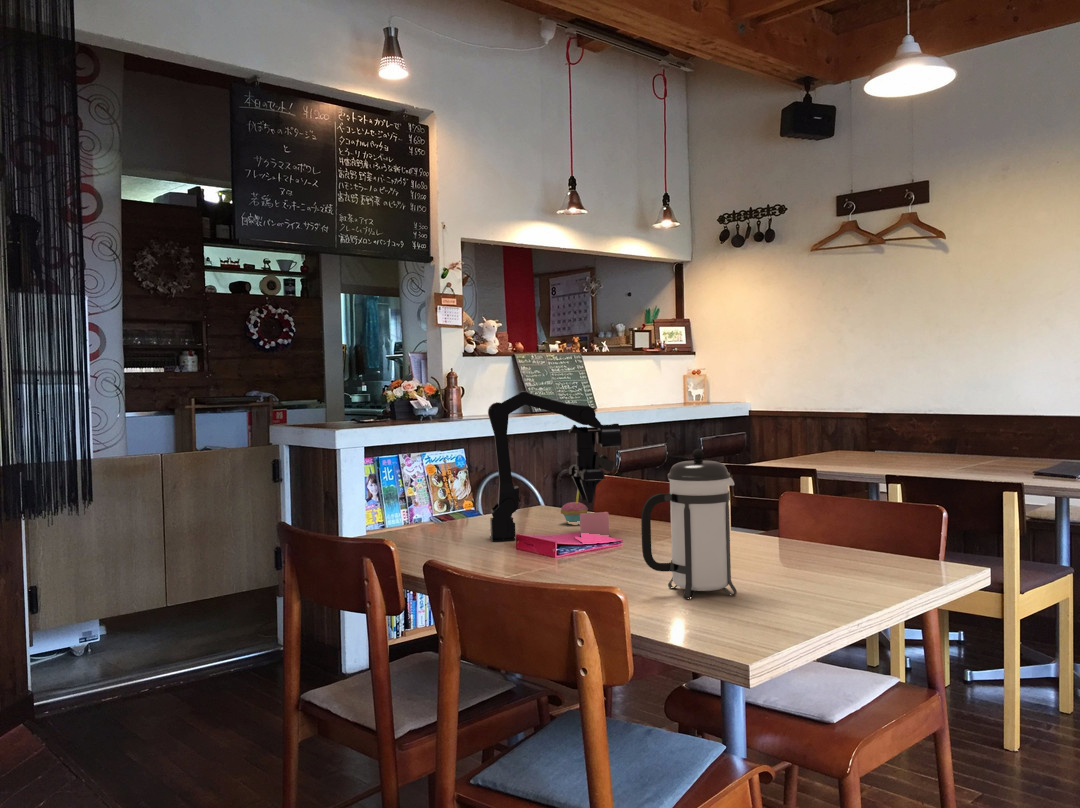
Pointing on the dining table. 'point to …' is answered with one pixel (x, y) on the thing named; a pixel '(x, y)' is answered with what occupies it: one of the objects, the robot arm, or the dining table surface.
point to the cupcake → (573, 510)
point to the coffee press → (695, 526)
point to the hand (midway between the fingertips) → (587, 501)
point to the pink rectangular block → (594, 523)
